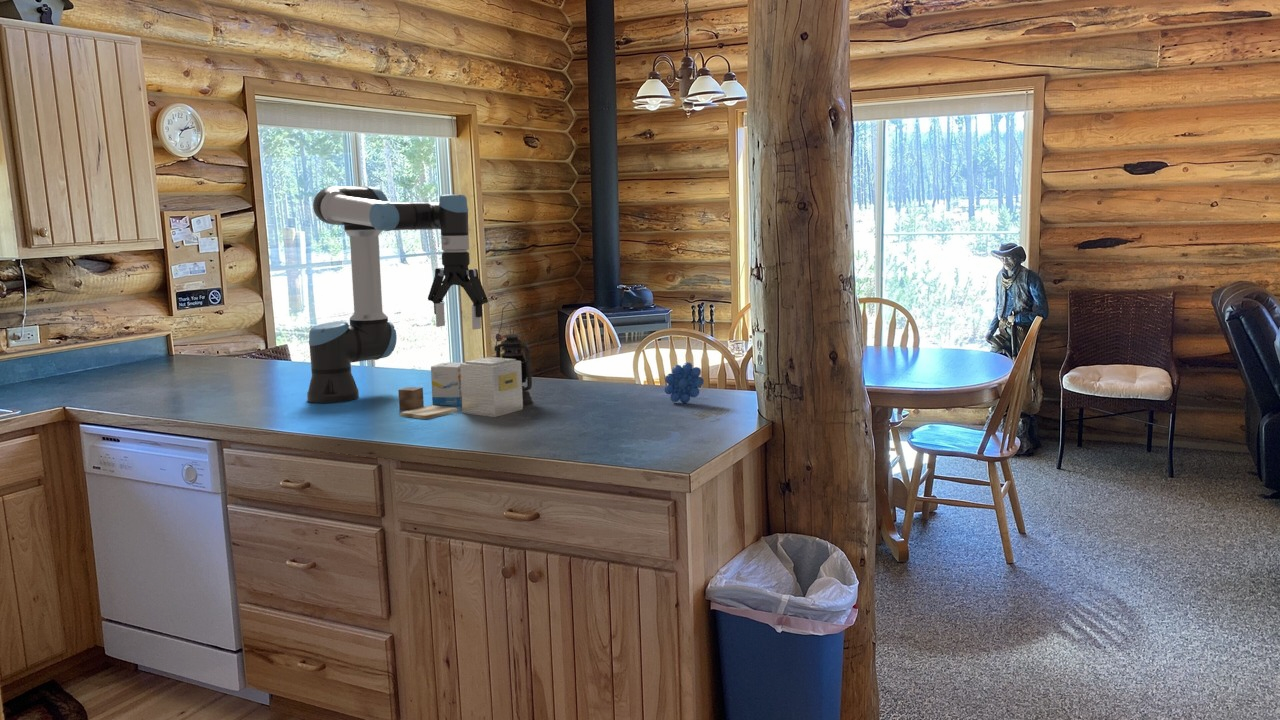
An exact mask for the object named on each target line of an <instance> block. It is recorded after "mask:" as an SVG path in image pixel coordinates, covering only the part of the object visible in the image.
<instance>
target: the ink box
mask: <svg viewBox="0 0 1280 720" xmlns="http://www.w3.org/2000/svg"><path fill="white" fill-rule="evenodd" d="M463 363H464V362H452V361H451V362H442V363H438V364H435V365H432V366H431V367H430V375H431V377H430V378H431V398H432V400H431V405H435V406H449V407H452V406H453V407H455V406H458V407H459V406H462V392H461V372H460V364H463Z"/></svg>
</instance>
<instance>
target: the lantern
mask: <svg viewBox="0 0 1280 720" xmlns="http://www.w3.org/2000/svg"><path fill="white" fill-rule="evenodd" d="M509 305H511V306H512V308H514V309H515V310H516V314H517V318H518V322H519V326H520V329H521V332H522V334H523V337H524V340H520V339H518V338H521V337H522V335H521V334H518V333H515V329H514V327H515V326H514V325H510V326H509V333H507V334H505V335H502V338H506V340H502V341H500V343H499V344H498V341H499V336H500V331H501V329H502V326H503V318H504V317H503V315H504V309H505V308H506V307H508V306H509ZM518 312H519V311H518V309H517V307H516V306H514V305H513V303H512V301H509V302H508V303H507V304H506V305H504V307H502V309H501V320H500V327H499V330H498V333H497V338H496V341H495V346H494V351H495V357H497V358H509V359H516V361H521V372H522V397H523V406H527V405H530V404H532V403H533V398H532V396H531V394H530V391H529V390H531V389H532V386H533V380H532V379H533V378H532V377H533V376H532V367H531V356H530V353H531V352H532V348H531V347H530V346H529V345H528V342H527V339H526V336H525V332H524V330H523V328H522V324H521V320H520V316H519V313H518ZM511 327H512V328H511ZM511 330H512V331H511ZM524 342H525V344H524ZM501 350H503V353H502V354H501ZM522 350H524V351H525V356H524V353H523V352H522ZM501 355H502V356H501ZM524 383H526V384H527V385H526V387H525V386H524V385H523V384H524Z"/></svg>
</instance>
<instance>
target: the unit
mask: <svg viewBox="0 0 1280 720" xmlns="http://www.w3.org/2000/svg"><path fill="white" fill-rule="evenodd" d="M462 363H463V364H460V372H461V392H462V404H461V408H462V409H461V410H462V414H467V415H472V416H473V415H474V416H483V417H490V418H497V417H501V416H504V415H508V414H511V413H515V412H519V411H522V410H524V405H523V397H522V386H523V384H522V372H521V361H516V359H509V358H502V357H500V358H497V357H496V356H495V357H493V356H486V357H483V358H482V357H481V358H476V359H472V360H467V361H465V362H462Z"/></svg>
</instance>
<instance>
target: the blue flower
mask: <svg viewBox="0 0 1280 720" xmlns="http://www.w3.org/2000/svg"><path fill="white" fill-rule="evenodd" d="M671 369H672V371H671V373H668V374H667V375H666V376H665V380H664V381H665V383H666V385H665V387H664V393H665V394H666V395H670V397H669V398H670V401H672V402H673V403H677V402H678V401H680V402H681V403H682V404H687V403H689V402H690V400H691V398H697V397H698V396H699V395H700V389H699V388H701V387H703V385H704V378H703V377H702V376H700V375H701V373H702V369H701V368H700V367H697V366H696V367H693V364H692V363H691V362H685V363H684V364H683V365H682V366H681V365H679V364H676V365H674V366H673V367H672V368H671Z"/></svg>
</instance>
